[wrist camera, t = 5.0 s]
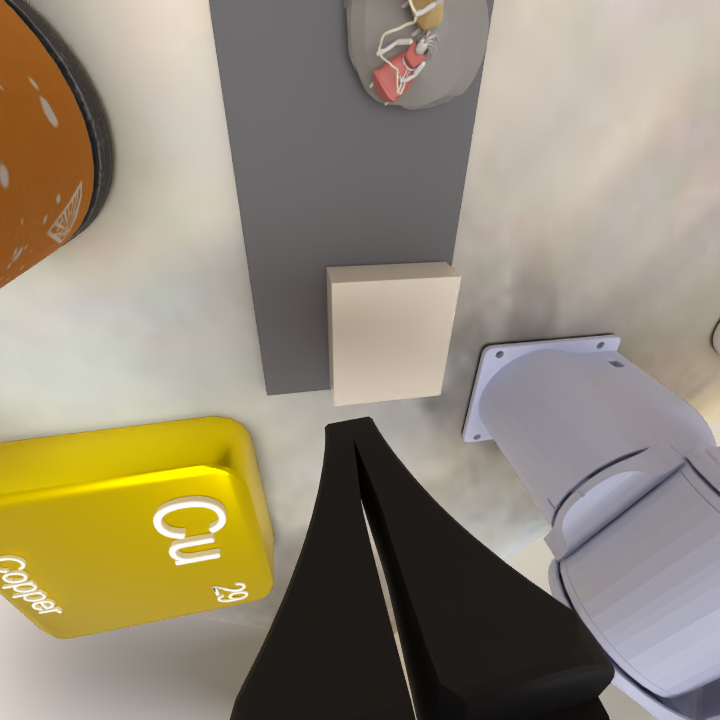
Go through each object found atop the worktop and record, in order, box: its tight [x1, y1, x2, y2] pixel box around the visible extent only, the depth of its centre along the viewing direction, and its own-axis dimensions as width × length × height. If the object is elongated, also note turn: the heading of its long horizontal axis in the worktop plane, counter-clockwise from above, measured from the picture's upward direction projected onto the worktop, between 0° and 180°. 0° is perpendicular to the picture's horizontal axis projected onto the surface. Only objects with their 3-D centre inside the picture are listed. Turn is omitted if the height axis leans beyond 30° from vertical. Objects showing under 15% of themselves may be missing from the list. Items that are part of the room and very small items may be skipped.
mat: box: [209, 0, 494, 395], centre depth 17 cm, size 10×19×1 cm, turn 178°
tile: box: [326, 262, 462, 407], centre depth 20 cm, size 2×7×6 cm
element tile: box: [0, 416, 274, 639], centre depth 24 cm, size 15×15×5 cm
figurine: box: [344, 0, 489, 110], centre depth 12 cm, size 5×4×6 cm
